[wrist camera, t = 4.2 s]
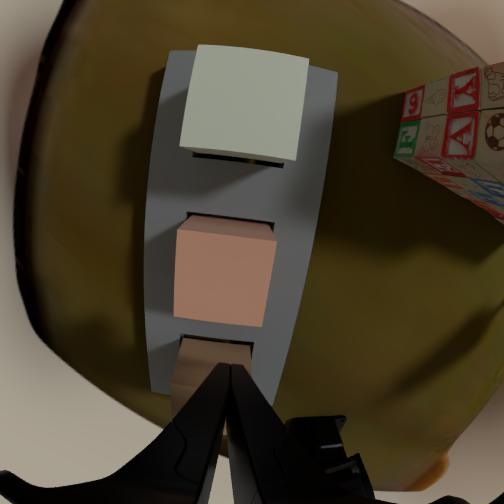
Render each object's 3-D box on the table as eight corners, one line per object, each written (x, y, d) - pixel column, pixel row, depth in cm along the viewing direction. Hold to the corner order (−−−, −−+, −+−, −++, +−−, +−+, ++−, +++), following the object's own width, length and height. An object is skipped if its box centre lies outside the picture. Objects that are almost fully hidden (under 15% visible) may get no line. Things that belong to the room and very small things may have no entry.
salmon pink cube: (256, 290, 20) (261, 326, 15) (188, 281, 20) (173, 316, 15) (267, 222, 18) (277, 241, 14) (193, 213, 18) (177, 229, 13)
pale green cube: (279, 163, 16) (295, 160, 11) (197, 152, 16) (179, 146, 11) (290, 87, 15) (309, 59, 10) (209, 77, 14) (198, 44, 9)
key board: (270, 391, 24) (272, 405, 22) (156, 377, 23) (151, 391, 21) (329, 80, 16) (338, 72, 14) (176, 60, 15) (170, 50, 13)
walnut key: (242, 390, 21) (243, 436, 16) (183, 383, 21) (173, 428, 16) (250, 345, 20) (252, 392, 15) (183, 337, 19) (169, 383, 15)
